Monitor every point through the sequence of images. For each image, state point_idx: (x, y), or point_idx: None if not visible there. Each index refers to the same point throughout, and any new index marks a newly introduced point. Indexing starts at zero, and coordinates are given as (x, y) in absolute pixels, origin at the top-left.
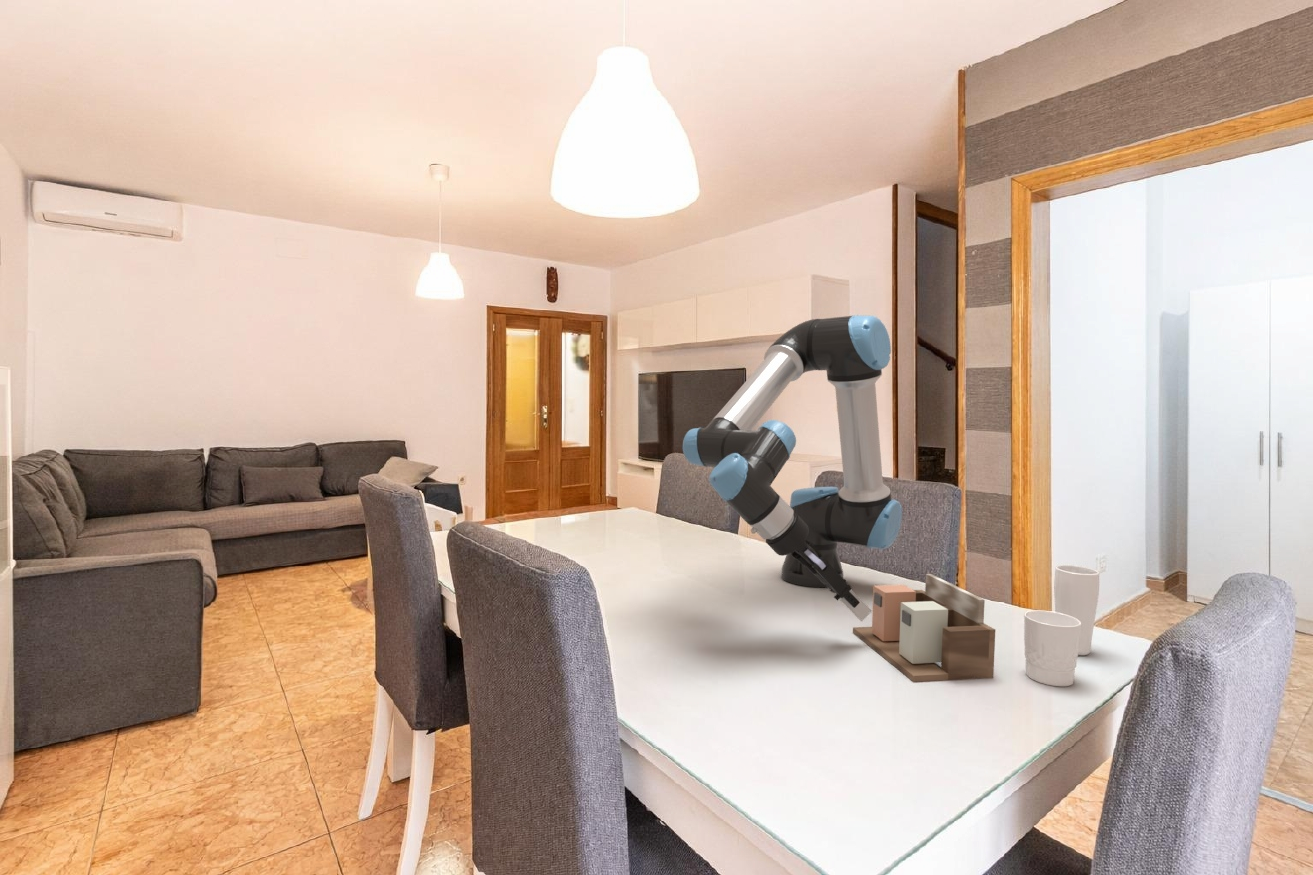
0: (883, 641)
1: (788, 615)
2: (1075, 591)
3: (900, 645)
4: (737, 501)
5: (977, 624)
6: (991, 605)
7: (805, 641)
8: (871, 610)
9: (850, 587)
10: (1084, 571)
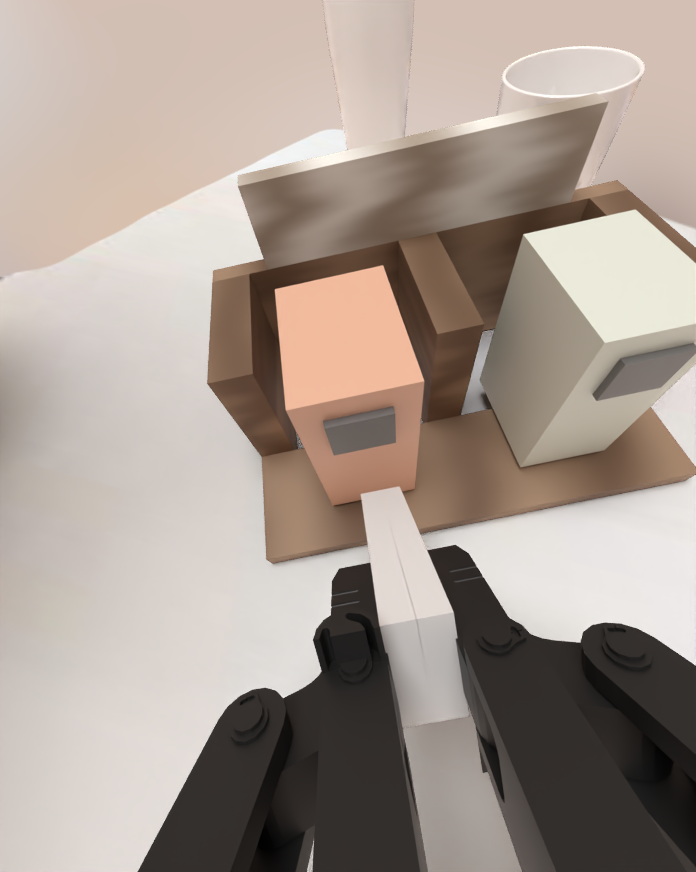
0: None
1: (25, 840)
2: (407, 12)
3: (535, 452)
4: None
5: (564, 208)
6: (143, 227)
7: None
8: (398, 487)
9: (665, 646)
10: None
